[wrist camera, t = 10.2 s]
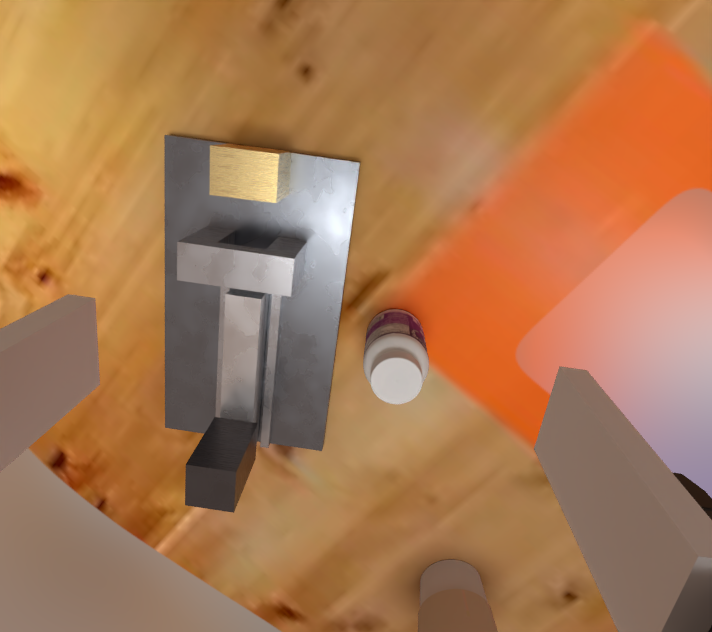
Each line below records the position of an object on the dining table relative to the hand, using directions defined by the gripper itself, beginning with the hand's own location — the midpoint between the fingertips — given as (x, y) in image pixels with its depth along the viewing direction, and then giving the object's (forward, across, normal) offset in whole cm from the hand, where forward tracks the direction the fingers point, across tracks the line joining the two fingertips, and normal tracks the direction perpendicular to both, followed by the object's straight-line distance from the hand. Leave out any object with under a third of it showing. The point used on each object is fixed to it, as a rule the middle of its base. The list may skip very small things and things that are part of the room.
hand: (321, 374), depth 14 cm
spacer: (+27, -9, +1) cm, 28 cm away
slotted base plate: (+31, -9, -10) cm, 34 cm away
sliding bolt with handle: (+29, -9, -16) cm, 34 cm away
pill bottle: (+31, +4, -11) cm, 33 cm away
